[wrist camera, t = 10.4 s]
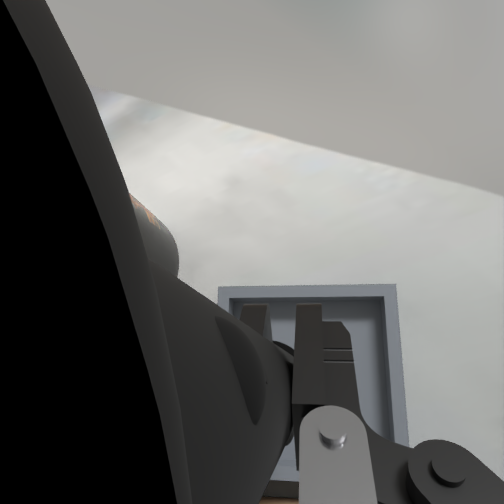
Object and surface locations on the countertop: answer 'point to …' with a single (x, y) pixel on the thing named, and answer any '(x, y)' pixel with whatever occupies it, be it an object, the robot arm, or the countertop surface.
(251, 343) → the tube
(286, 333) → the tray
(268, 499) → the collar
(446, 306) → the countertop surface
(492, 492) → the robot arm
